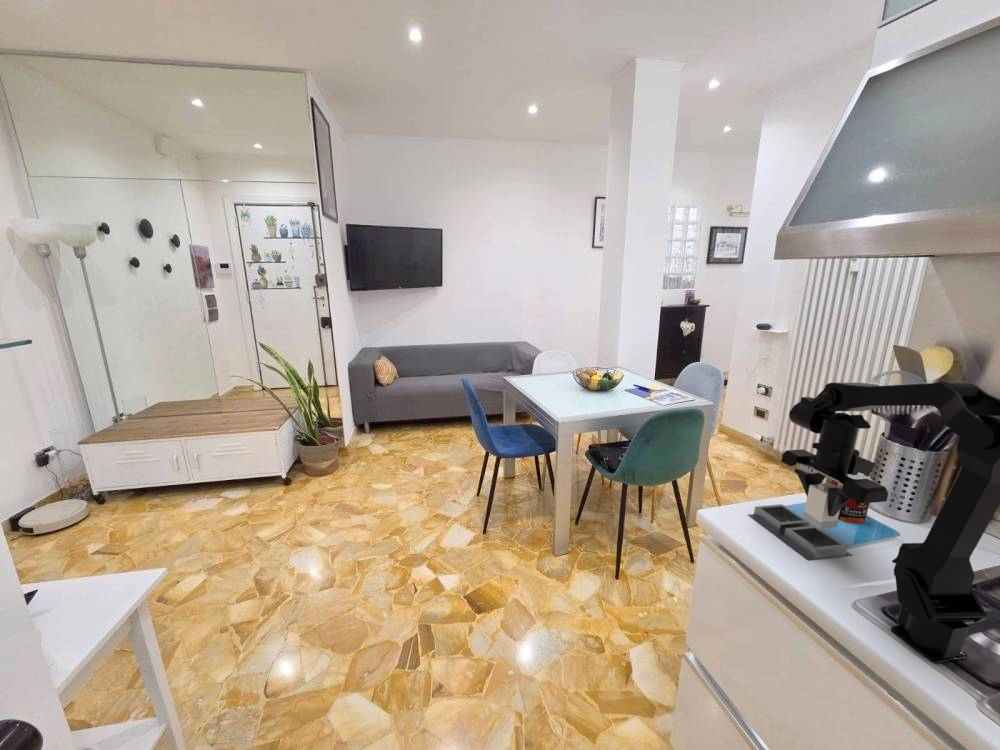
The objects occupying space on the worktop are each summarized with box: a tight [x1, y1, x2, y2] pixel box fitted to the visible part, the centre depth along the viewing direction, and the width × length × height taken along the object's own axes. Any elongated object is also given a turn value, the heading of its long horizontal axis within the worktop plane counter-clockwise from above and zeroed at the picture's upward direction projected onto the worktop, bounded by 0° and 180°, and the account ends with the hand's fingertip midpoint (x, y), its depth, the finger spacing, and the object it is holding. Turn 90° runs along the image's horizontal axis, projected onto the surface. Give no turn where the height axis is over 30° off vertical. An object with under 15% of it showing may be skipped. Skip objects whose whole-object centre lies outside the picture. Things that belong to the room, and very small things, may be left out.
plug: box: [802, 482, 840, 530], centre depth 87 cm, size 4×4×9 cm
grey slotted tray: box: [747, 503, 853, 562], centre depth 93 cm, size 17×11×3 cm, turn 9°
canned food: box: [830, 472, 875, 525], centre depth 100 cm, size 8×8×11 cm
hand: (821, 510), depth 87 cm, fingers closed on plug, 4 cm apart
